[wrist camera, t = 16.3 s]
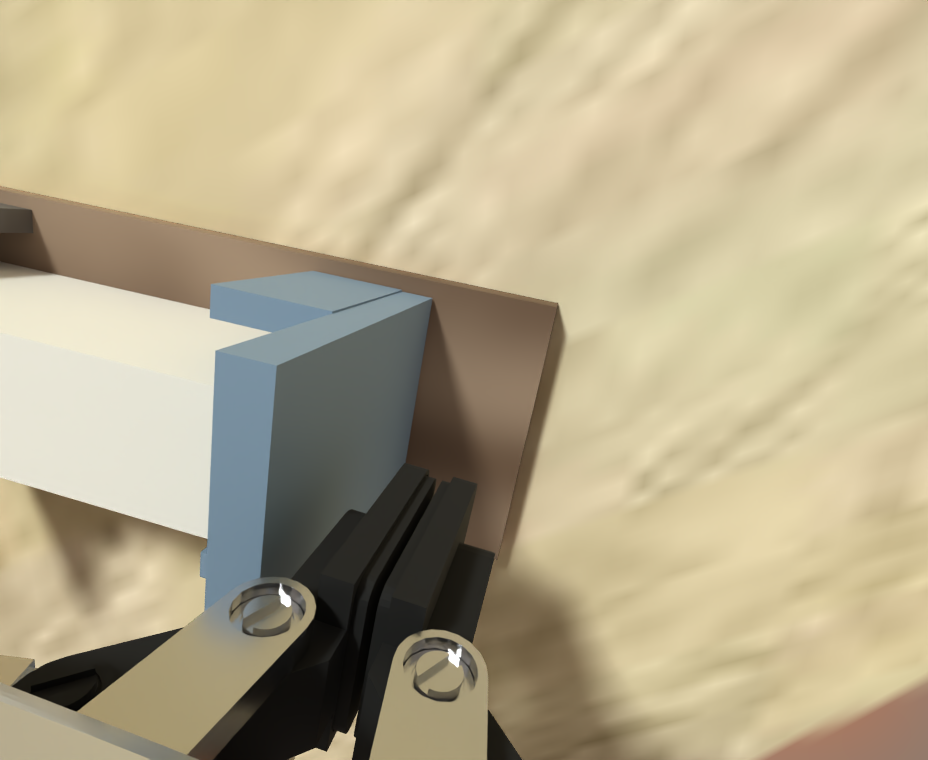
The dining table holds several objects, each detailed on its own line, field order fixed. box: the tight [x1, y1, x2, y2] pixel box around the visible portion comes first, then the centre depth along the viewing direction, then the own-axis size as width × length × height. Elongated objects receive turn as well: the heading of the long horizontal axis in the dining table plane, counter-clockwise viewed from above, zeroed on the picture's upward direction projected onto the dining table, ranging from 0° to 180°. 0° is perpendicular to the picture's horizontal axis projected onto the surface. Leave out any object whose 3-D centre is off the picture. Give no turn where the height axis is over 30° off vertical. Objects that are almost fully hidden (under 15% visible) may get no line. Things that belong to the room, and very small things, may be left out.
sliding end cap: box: [200, 271, 432, 611], centre depth 13 cm, size 8×4×9 cm, turn 169°
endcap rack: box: [0, 186, 558, 560], centre depth 15 cm, size 9×23×10 cm, turn 79°
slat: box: [0, 262, 271, 539], centre depth 16 cm, size 4×16×6 cm, turn 80°
